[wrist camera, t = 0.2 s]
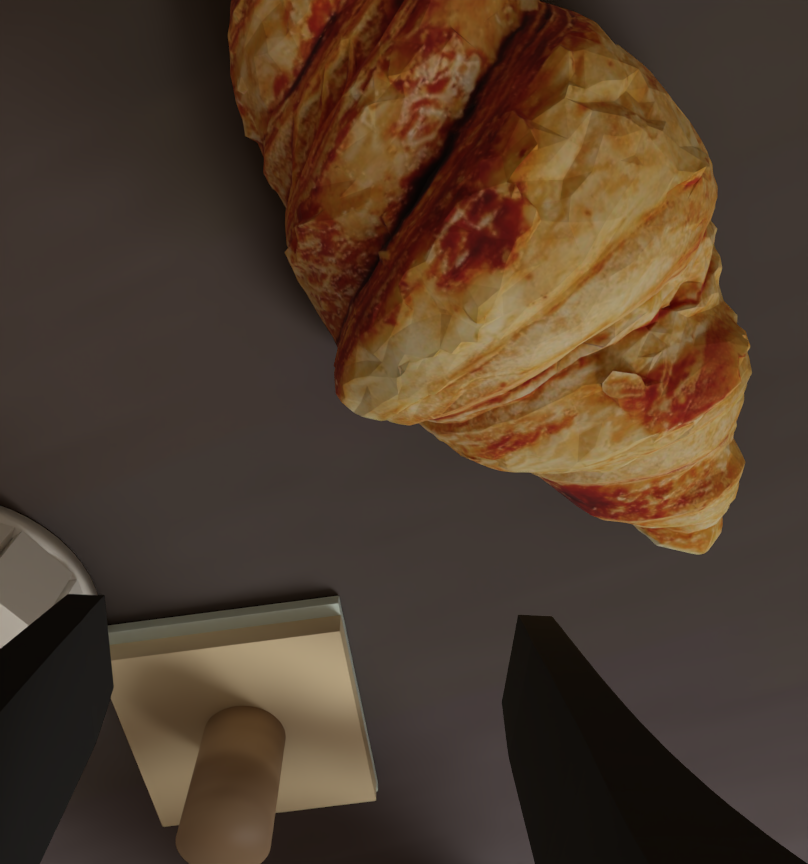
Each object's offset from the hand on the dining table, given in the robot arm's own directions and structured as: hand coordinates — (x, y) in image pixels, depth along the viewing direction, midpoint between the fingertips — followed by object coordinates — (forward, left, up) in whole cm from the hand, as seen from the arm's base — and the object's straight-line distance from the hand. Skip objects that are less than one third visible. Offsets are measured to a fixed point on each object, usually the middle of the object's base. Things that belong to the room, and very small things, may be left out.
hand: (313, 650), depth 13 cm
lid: (-11, +5, -9) cm, 15 cm away
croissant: (+4, -5, -10) cm, 12 cm away
